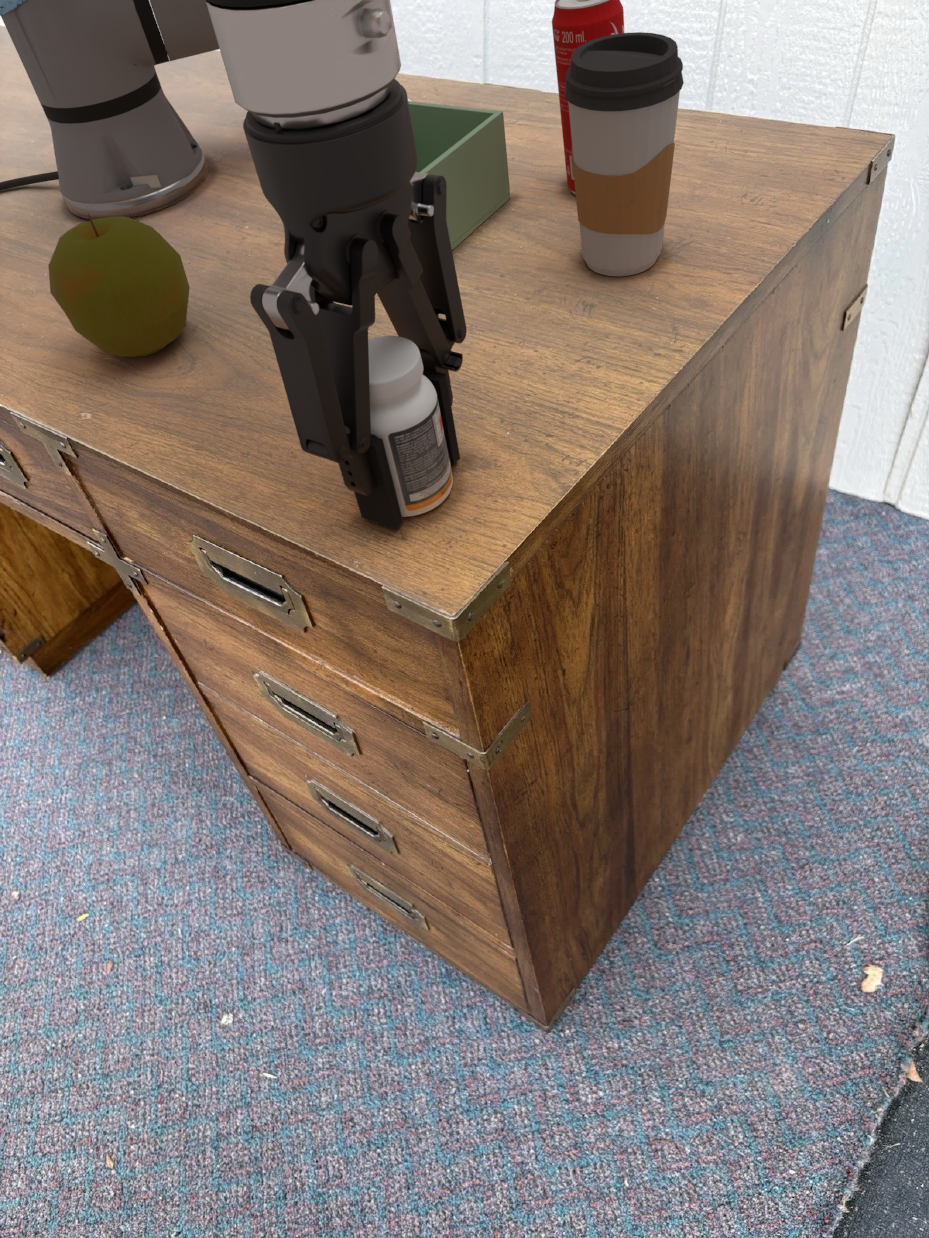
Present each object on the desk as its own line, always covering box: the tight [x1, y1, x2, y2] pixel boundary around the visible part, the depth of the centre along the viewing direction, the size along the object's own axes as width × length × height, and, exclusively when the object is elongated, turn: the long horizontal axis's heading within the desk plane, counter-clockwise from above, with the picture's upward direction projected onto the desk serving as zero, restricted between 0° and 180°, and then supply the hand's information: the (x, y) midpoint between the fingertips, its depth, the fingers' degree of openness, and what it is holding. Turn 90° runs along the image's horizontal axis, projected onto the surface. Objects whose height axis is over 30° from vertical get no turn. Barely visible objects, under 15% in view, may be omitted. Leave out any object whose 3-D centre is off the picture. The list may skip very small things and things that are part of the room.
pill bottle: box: [368, 335, 454, 518], centre depth 53 cm, size 6×6×10 cm
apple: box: [47, 213, 191, 358], centre depth 69 cm, size 10×10×11 cm
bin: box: [408, 100, 511, 251], centre depth 78 cm, size 13×13×8 cm
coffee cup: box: [565, 31, 685, 277], centre depth 66 cm, size 8×8×15 cm
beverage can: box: [551, 0, 625, 196], centre depth 75 cm, size 6×6×15 cm
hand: (411, 486), depth 56 cm, fingers open, 6 cm apart
